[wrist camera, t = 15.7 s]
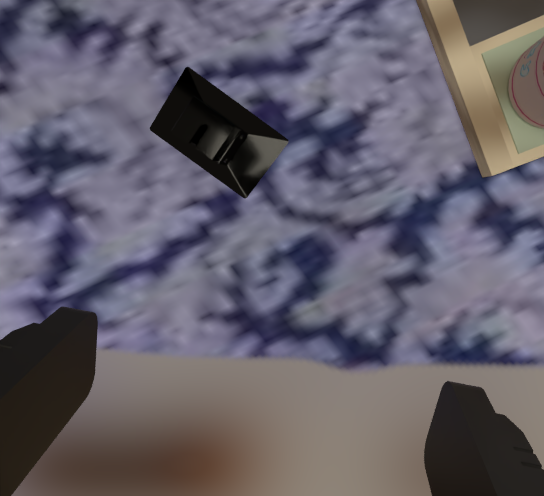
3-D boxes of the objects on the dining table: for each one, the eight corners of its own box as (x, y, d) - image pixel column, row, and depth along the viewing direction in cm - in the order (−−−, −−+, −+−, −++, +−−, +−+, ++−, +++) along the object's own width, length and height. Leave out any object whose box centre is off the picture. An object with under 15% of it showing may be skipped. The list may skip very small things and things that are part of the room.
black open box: (131, 127, 41) (105, 118, 36) (182, 47, 40) (161, 28, 35) (257, 219, 40) (245, 222, 36) (312, 141, 39) (308, 134, 34)
